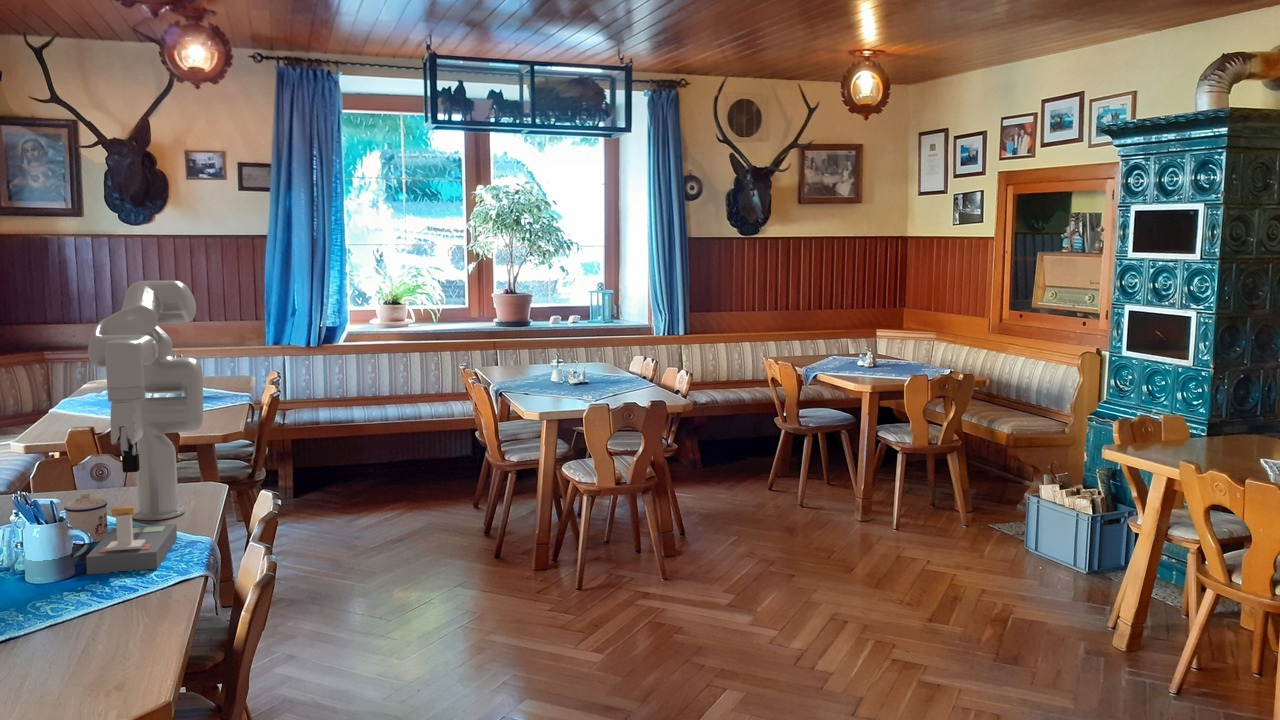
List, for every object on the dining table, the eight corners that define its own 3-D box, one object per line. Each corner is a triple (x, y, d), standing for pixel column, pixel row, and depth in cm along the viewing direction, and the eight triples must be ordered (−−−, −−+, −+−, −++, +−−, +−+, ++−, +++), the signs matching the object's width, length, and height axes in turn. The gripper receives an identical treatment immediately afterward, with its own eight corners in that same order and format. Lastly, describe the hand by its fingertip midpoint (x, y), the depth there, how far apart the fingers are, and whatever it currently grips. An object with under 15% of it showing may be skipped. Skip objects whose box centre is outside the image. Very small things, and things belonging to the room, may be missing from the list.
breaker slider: (111, 544, 214) (109, 505, 213) (145, 541, 216) (143, 503, 215) (105, 550, 210) (102, 511, 208) (140, 548, 211) (138, 509, 210)
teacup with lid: (104, 543, 229) (101, 496, 228) (61, 546, 227) (58, 499, 225) (116, 529, 241) (113, 484, 239) (75, 532, 238) (72, 486, 237)
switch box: (113, 544, 229) (112, 527, 228) (177, 539, 233) (176, 523, 232) (87, 574, 208) (85, 556, 207) (157, 569, 212) (156, 551, 211)
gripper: (116, 388, 223) (121, 464, 225) (99, 400, 209) (104, 481, 211) (151, 387, 225) (156, 462, 227) (136, 398, 211) (141, 479, 213)
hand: (131, 471), depth 219 cm, fingers closed
